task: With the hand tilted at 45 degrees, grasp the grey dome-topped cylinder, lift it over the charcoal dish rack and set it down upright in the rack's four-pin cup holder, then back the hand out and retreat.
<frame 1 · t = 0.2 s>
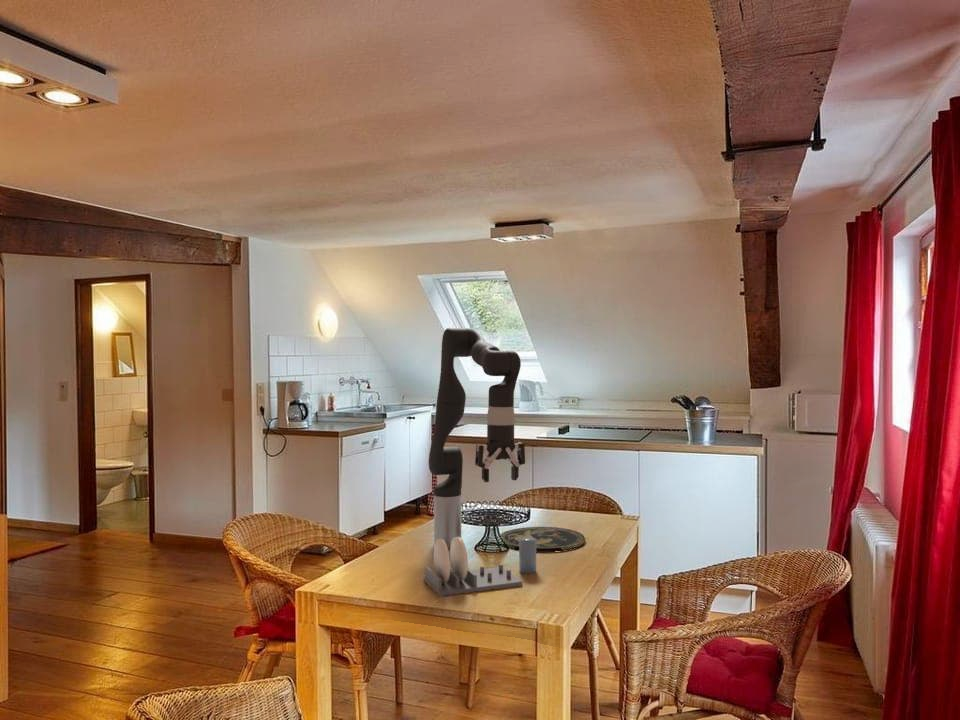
hand: (500, 480, 199), 29 cm above the table, tool pointing down, fingers open, 8 cm apart
grey dome-topped cylinder: (527, 571, 212), on the table
dish rack: (472, 583, 202), on the table
decorative plate: (541, 542, 247), on the table
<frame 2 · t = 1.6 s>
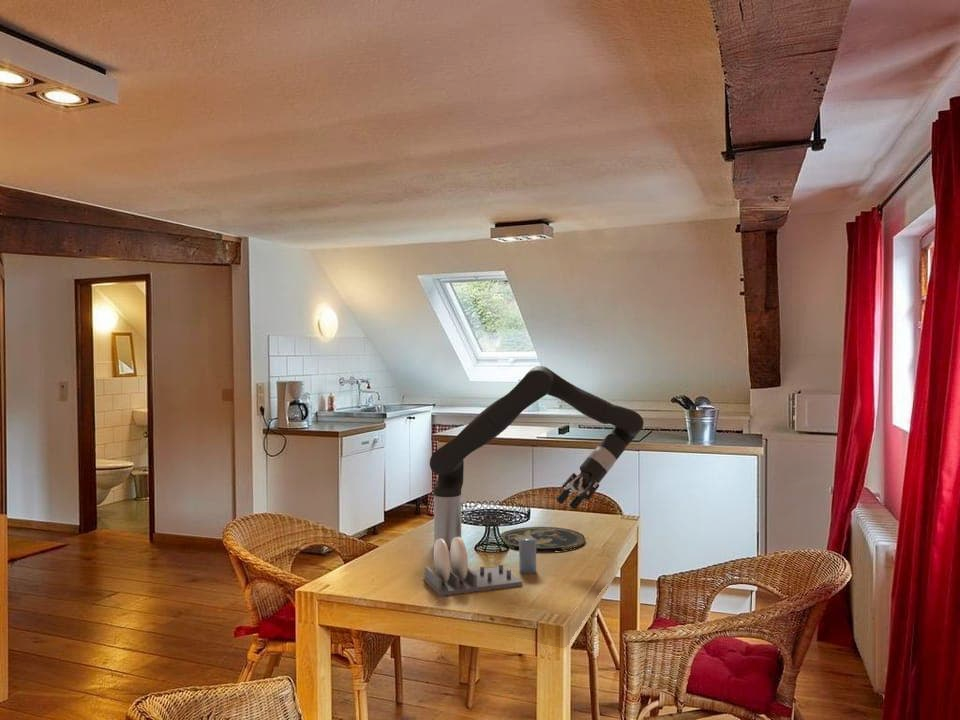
hand: (565, 504, 216), 19 cm above the table, tool tilted 45°, fingers open, 8 cm apart
nothing on the table moved.
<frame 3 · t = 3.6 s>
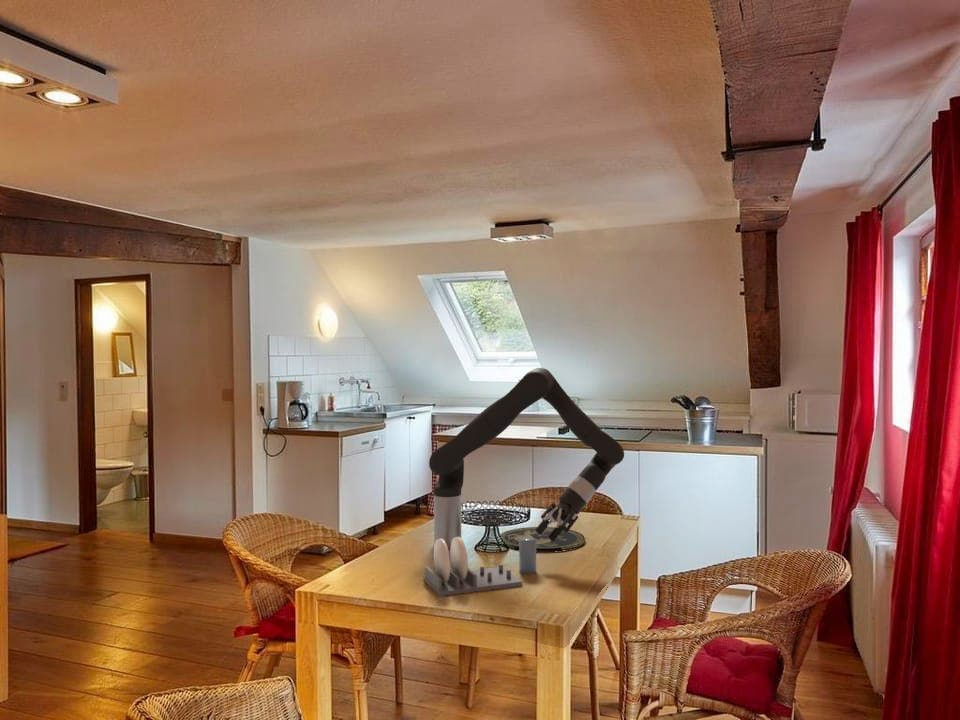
hand: (543, 536, 214), 10 cm above the table, tool tilted 45°, fingers open, 8 cm apart
nothing on the table moved.
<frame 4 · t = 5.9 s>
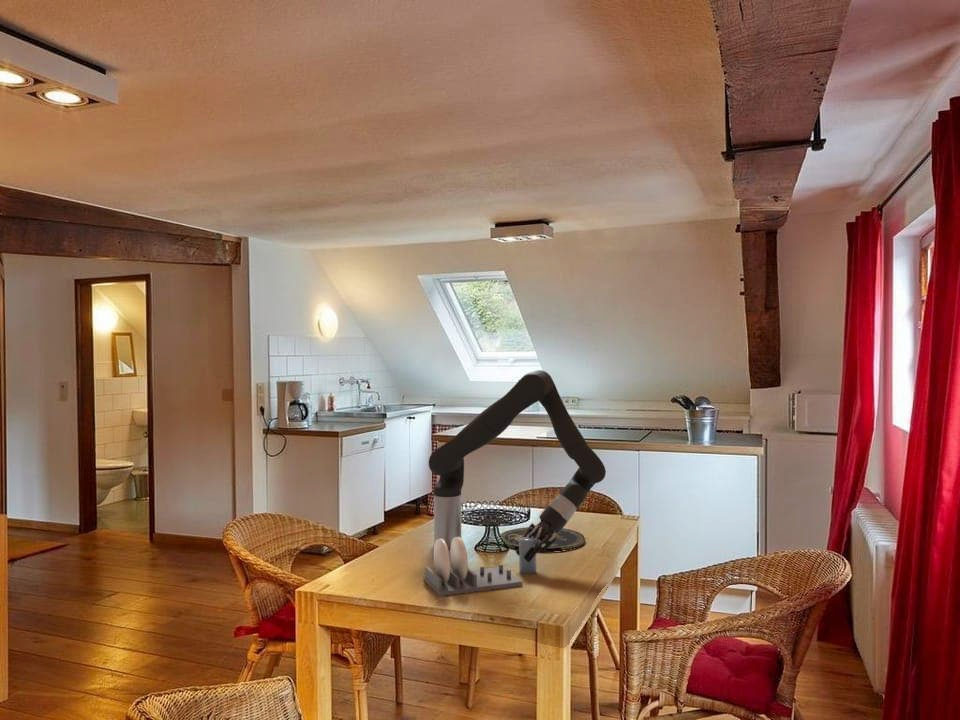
hand: (522, 557, 211), 4 cm above the table, tool tilted 45°, fingers closed on grey dome-topped cylinder, 5 cm apart
grey dome-topped cylinder: (527, 571, 212), on the table, touching gripper
everything else where it was.
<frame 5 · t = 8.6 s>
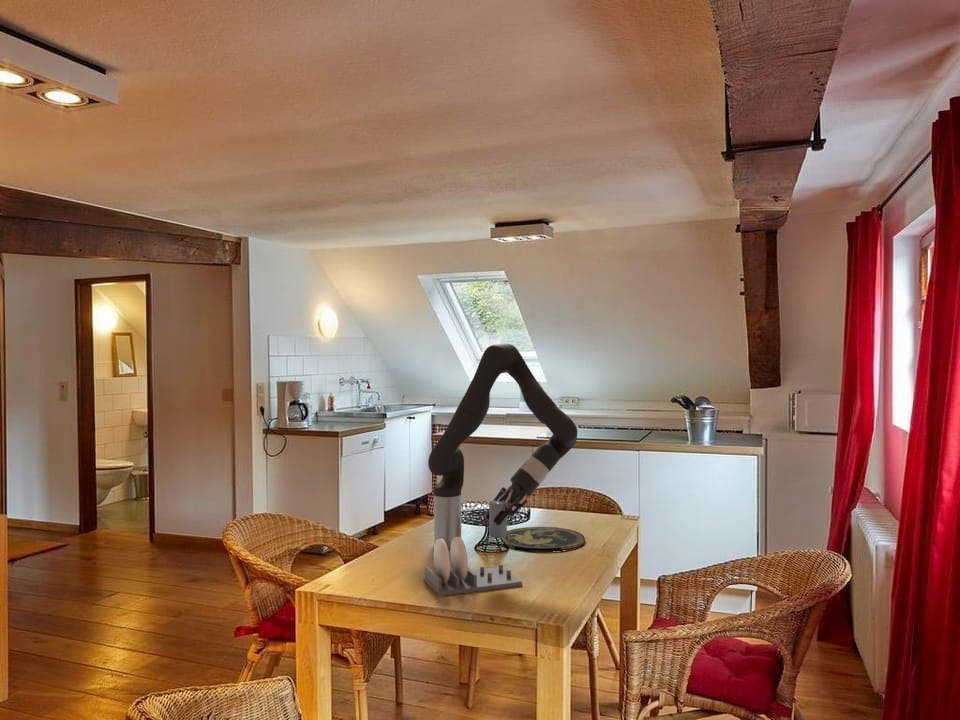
hand: (492, 520, 204), 17 cm above the table, tool tilted 45°, fingers closed on grey dome-topped cylinder, 5 cm apart
grey dome-topped cylinder: (498, 535, 205), point 13 cm above the table, touching gripper
everything else where it was.
when the fingers open (7 cm above the table, at t = 11.6 s): grey dome-topped cylinder drops 1 cm, resting on dish rack.
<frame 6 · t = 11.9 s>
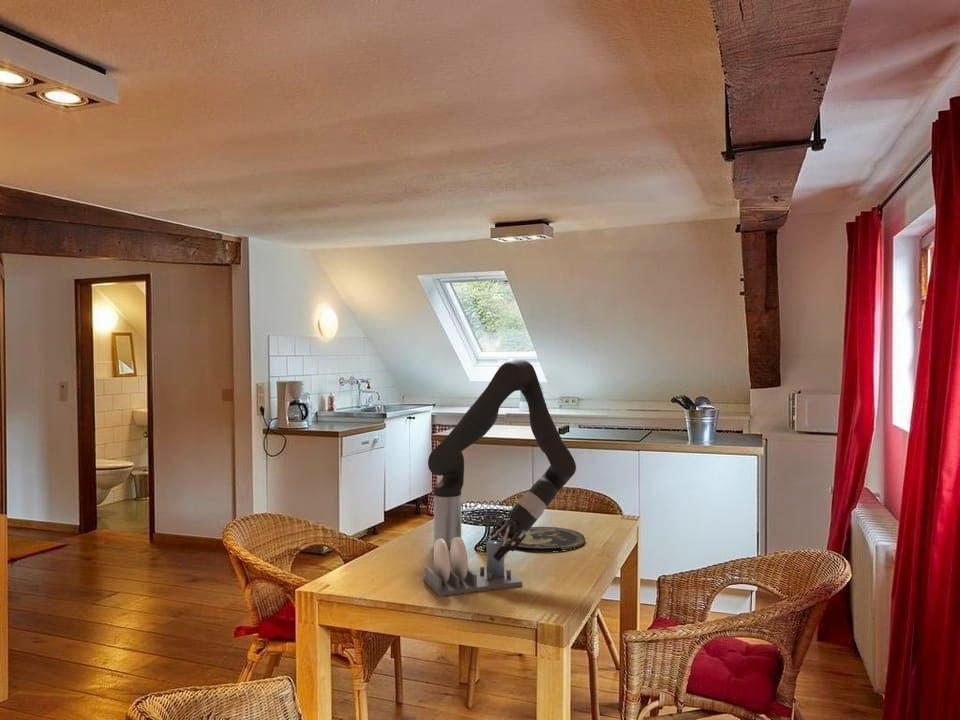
hand: (490, 555, 204), 7 cm above the table, tool tilted 45°, fingers open, 7 cm apart
grey dome-topped cylinder: (495, 575, 204), point 1 cm above the table, touching dish rack
everything else where it was.
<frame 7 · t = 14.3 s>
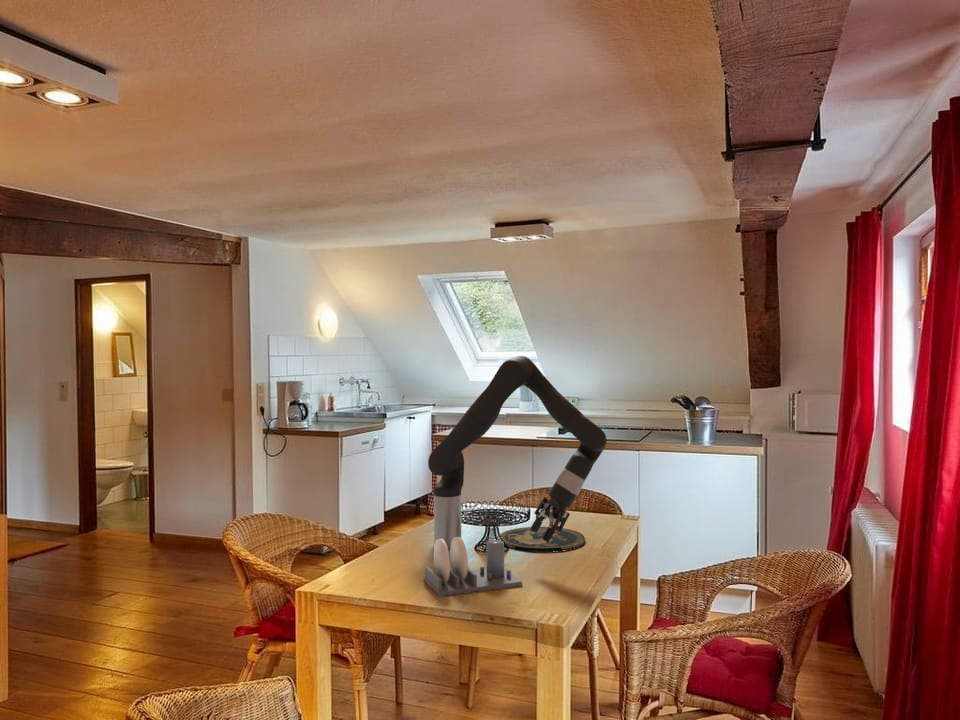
hand: (539, 535, 211), 11 cm above the table, tool tilted 30°, fingers open, 8 cm apart
nothing on the table moved.
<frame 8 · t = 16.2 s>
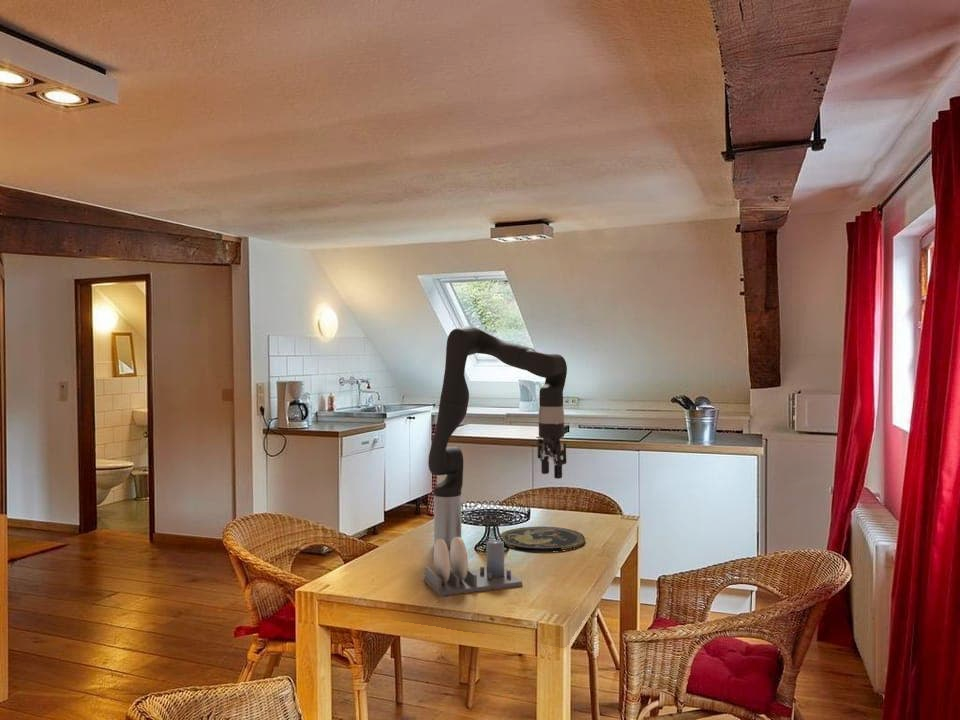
hand: (551, 475, 213), 28 cm above the table, tool pointing down, fingers open, 8 cm apart
nothing on the table moved.
at the end: grey dome-topped cylinder 0.2 cm from the target spot on the dish rack, point 1.2 cm above the dish rack's base; grey dome-topped cylinder tilted 0°; the gripper is holding nothing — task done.
